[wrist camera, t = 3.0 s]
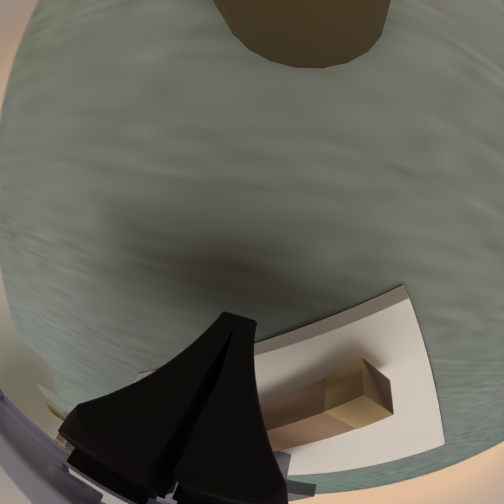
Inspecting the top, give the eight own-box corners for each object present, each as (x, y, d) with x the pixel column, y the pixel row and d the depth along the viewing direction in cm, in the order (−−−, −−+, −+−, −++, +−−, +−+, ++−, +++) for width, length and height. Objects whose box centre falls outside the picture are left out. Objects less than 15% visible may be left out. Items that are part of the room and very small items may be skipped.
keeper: (186, 426, 20) (165, 472, 16) (200, 397, 17) (172, 458, 12) (282, 458, 20) (271, 503, 16) (322, 436, 16) (314, 496, 12)
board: (273, 468, 25) (272, 475, 24) (139, 373, 19) (133, 382, 18) (443, 436, 16) (444, 444, 15) (403, 284, 11) (409, 297, 10)
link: (222, 442, 18) (215, 462, 17) (186, 424, 18) (177, 444, 16) (394, 383, 11) (398, 417, 9) (354, 351, 10) (356, 390, 9)
